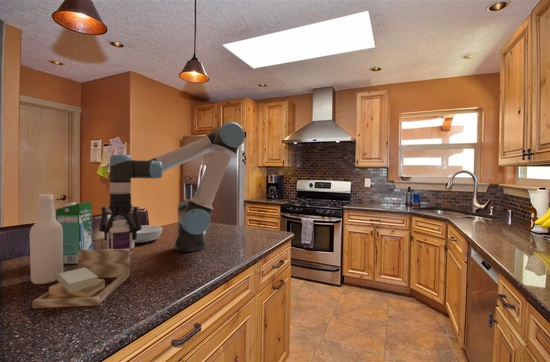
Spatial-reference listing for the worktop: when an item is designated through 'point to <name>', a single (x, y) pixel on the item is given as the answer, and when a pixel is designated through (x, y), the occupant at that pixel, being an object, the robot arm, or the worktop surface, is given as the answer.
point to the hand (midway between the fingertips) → (120, 248)
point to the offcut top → (77, 279)
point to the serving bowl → (148, 233)
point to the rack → (101, 265)
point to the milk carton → (75, 229)
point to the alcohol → (46, 243)
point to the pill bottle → (120, 235)
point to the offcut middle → (61, 291)
